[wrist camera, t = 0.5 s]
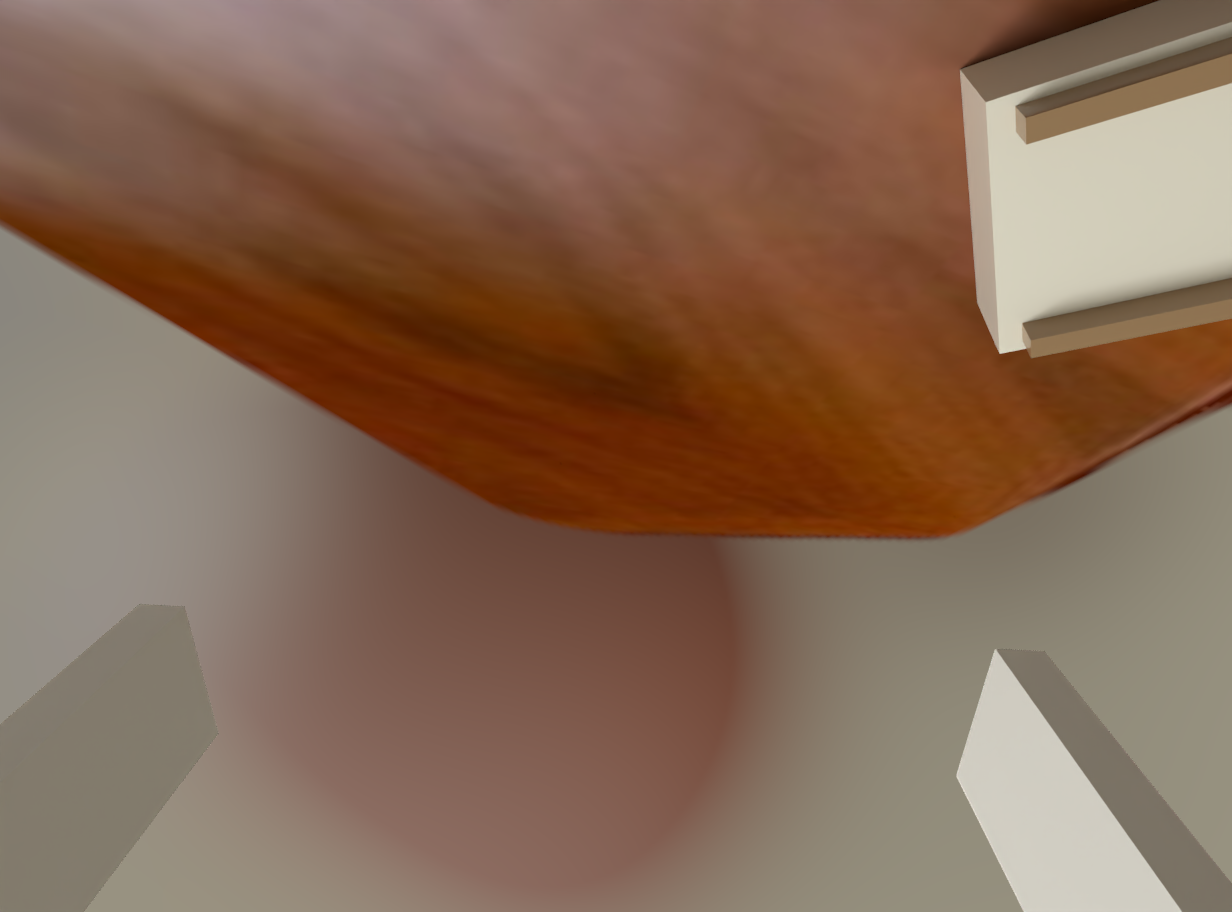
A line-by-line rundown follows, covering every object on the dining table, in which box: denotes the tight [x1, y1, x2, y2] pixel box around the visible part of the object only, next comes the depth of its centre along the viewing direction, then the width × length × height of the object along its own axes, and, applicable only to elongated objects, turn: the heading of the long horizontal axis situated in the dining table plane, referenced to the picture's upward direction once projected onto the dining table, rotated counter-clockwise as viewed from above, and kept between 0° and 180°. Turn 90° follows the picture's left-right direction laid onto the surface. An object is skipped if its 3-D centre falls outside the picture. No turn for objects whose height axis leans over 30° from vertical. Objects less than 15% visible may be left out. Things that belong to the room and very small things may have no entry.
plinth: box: [960, 0, 1232, 358], centre depth 29 cm, size 12×12×6 cm
